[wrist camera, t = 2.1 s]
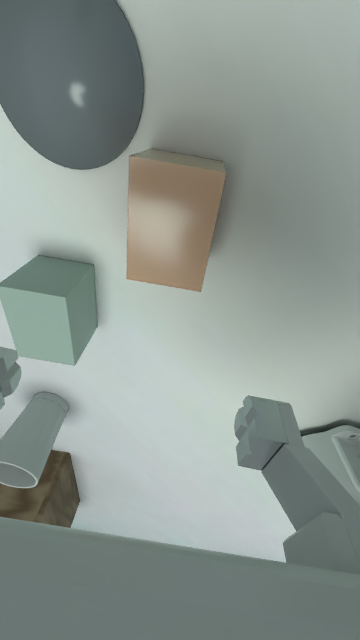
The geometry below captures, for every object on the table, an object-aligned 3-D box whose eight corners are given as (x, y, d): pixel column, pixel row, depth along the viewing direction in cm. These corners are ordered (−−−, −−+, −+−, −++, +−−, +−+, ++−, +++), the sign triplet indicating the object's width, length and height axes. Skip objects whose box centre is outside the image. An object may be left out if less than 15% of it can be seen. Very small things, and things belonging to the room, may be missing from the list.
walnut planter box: (69, 453, 57) (34, 533, 46) (79, 500, 72) (55, 569, 61) (-37, 435, 57) (-98, 511, 46) (-4, 486, 72) (-44, 552, 61)
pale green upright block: (93, 264, 30) (65, 297, 24) (97, 326, 35) (74, 365, 30) (38, 255, 30) (-4, 285, 24) (50, 318, 35) (18, 355, 30)
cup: (18, 394, 46) (-33, 464, 37) (53, 384, 44) (7, 457, 34) (49, 420, 50) (10, 490, 41) (82, 413, 48) (49, 485, 38)
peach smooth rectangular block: (223, 161, 23) (226, 172, 17) (203, 258, 28) (200, 291, 23) (150, 148, 23) (129, 155, 17) (144, 247, 28) (126, 278, 23)
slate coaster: (148, -24, 17) (146, -29, 17) (139, 179, 24) (138, 180, 24) (-33, -56, 17) (-40, -62, 17) (11, 156, 24) (7, 157, 24)
